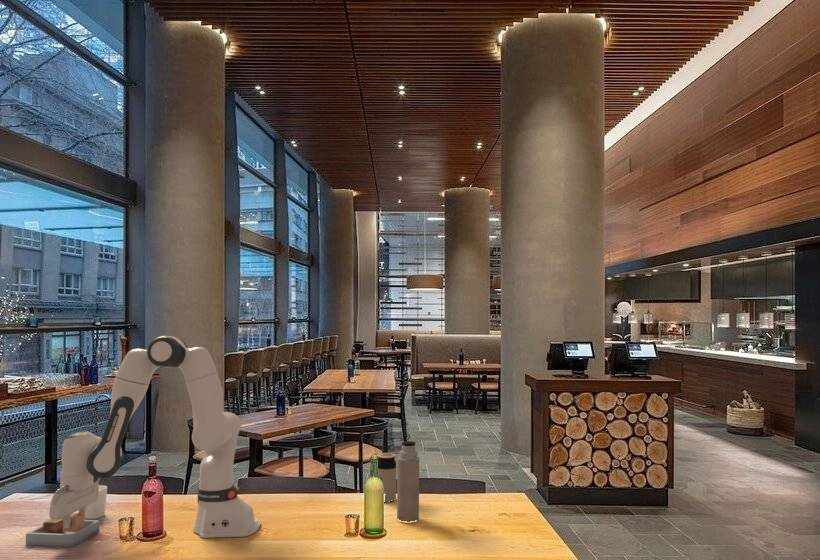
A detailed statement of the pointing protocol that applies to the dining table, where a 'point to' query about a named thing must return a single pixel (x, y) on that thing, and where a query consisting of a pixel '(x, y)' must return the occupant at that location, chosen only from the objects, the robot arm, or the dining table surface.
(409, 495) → the thermos bottle
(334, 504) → the dining table surface
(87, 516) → the white cup
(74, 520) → the terracotta block
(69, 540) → the tray
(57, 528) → the walnut block
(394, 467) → the travel mug
